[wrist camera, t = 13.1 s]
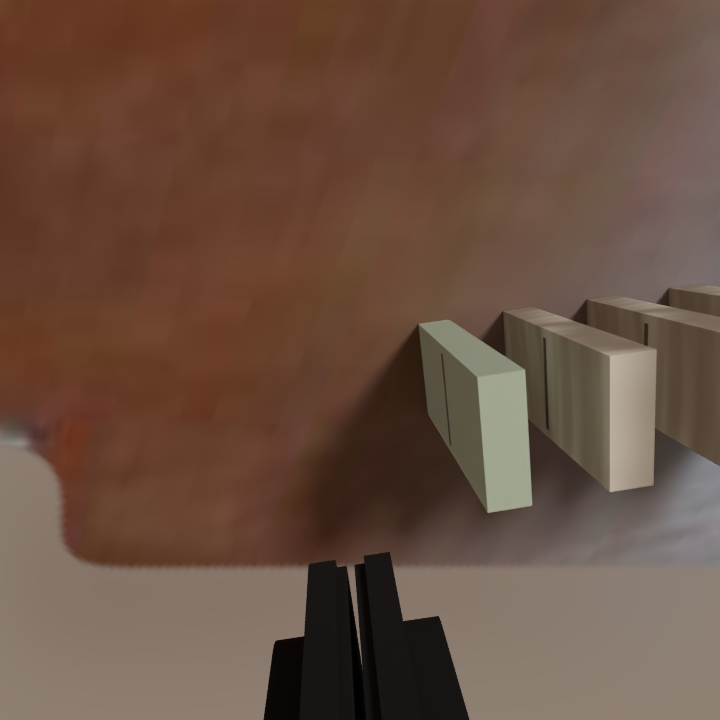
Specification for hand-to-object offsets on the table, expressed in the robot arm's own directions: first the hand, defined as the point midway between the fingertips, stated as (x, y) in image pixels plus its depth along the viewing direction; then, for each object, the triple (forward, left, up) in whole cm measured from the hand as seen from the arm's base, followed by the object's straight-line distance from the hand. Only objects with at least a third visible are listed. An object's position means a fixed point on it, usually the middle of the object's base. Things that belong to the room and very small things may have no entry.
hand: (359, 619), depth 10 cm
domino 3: (+15, 0, -17) cm, 22 cm away
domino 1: (+6, 0, -17) cm, 18 cm away
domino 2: (+10, 0, -17) cm, 19 cm away
